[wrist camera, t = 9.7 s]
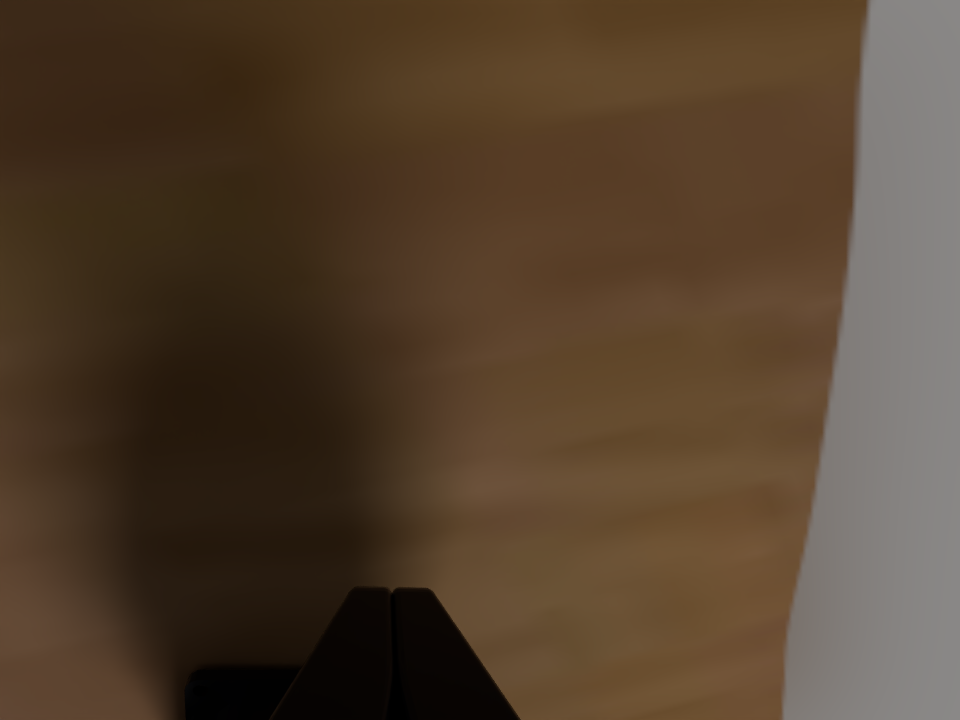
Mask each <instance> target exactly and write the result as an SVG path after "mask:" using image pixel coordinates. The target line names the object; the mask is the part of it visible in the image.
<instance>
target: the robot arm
mask: <svg viewBox="0 0 960 720" xmlns="http://www.w3.org/2000/svg"><path fill="white" fill-rule="evenodd" d="M200 685H202V686H200ZM185 710H186V720H520V718H519V717H518V715H517V714H516V712H515V711H514V709H513V708H512V706H511V705H510V703H509V702H508V701H507V699H506V698H505V696H504V695H503V693H502V692H501V690H500V689H499V687H498V686H497V684H496V683H495V681H494V680H493V679H492V677H491V676H490V674H489V673H488V671H487V670H486V668H485V667H484V665H483V664H482V662H481V661H480V660H479V658H478V657H477V655H476V654H475V652H474V651H473V649H472V648H471V646H470V645H469V643H468V642H467V641H466V639H465V638H464V636H463V635H462V633H461V632H460V630H459V629H458V627H457V626H456V624H455V623H454V622H453V620H452V619H451V617H450V616H449V614H448V613H447V611H446V610H445V608H444V607H443V605H442V604H441V602H440V601H439V600H438V598H437V597H436V595H435V594H434V592H433V591H432V590H430V589H428V588H413V587H398V588H396V589H394V591H393V592H392V593H391V591H390V589H389V588H387V587H366V586H357V587H354V588H353V589H352V590H351V591H350V592H349V593H348V595H347V596H346V598H345V600H344V601H343V603H342V604H341V606H340V608H339V609H338V611H337V612H336V614H335V615H334V617H333V619H332V620H331V622H330V623H329V625H328V627H327V628H326V630H325V631H324V633H323V635H322V636H321V638H320V639H319V641H318V643H317V644H316V646H315V647H314V649H313V650H312V652H311V654H310V655H309V657H308V658H307V660H306V662H305V663H304V665H303V666H302V668H301V670H197V671H195V672H193V673H192V674H191V675H190V676H189V678H188V681H187V684H186V688H185Z"/></svg>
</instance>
